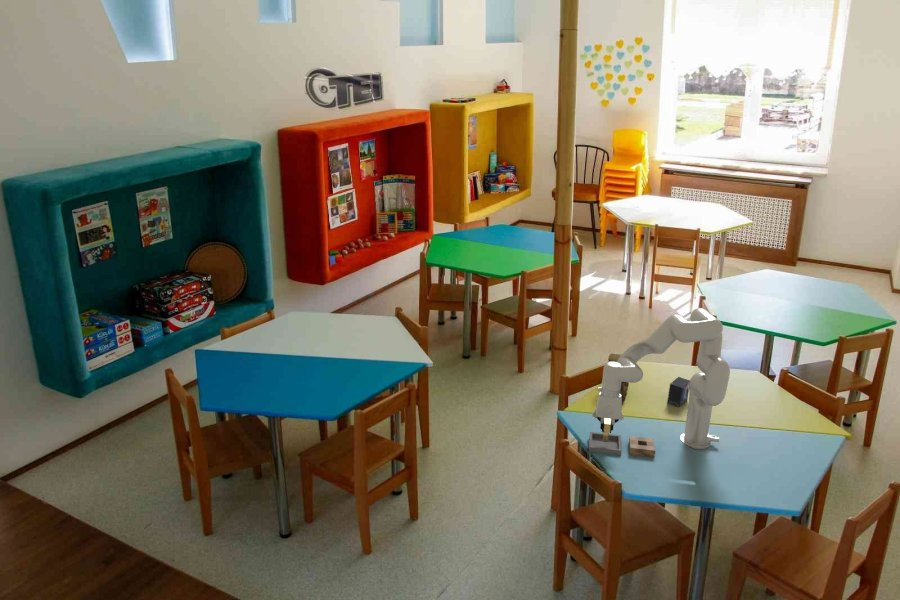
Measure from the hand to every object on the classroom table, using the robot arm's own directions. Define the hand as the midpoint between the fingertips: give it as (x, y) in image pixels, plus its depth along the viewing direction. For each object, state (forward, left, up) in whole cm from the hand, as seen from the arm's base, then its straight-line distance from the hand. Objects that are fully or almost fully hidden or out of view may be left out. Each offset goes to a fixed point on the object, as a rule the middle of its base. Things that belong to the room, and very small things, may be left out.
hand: (606, 430), depth 324 cm
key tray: (0, 0, -8) cm, 8 cm away
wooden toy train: (-5, -54, -8) cm, 54 cm away
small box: (-34, -52, -8) cm, 62 cm away
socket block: (-15, 0, -8) cm, 17 cm away
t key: (0, 0, -5) cm, 5 cm away
